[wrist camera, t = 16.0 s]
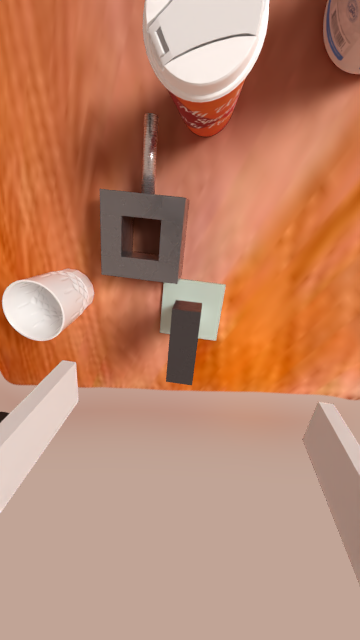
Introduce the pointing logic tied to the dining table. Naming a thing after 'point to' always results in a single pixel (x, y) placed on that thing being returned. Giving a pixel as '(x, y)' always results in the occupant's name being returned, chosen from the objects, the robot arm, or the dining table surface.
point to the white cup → (47, 303)
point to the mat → (194, 292)
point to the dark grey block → (183, 341)
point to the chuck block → (126, 205)
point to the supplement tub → (343, 34)
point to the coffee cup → (204, 54)
